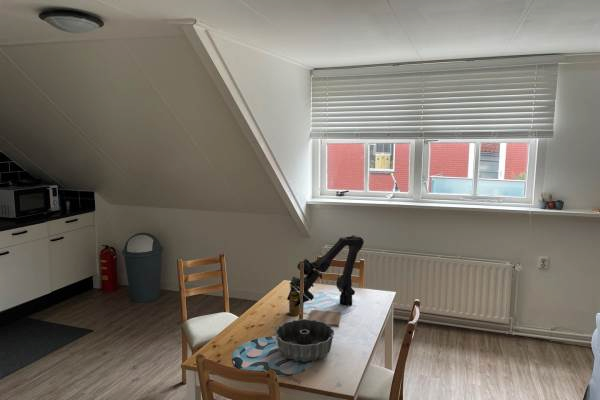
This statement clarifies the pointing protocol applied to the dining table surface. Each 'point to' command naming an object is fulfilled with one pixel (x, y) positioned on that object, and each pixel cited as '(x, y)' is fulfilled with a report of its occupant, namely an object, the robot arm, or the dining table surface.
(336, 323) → the walnut board
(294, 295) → the condiment
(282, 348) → the bundt pan
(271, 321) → the dining table surface
